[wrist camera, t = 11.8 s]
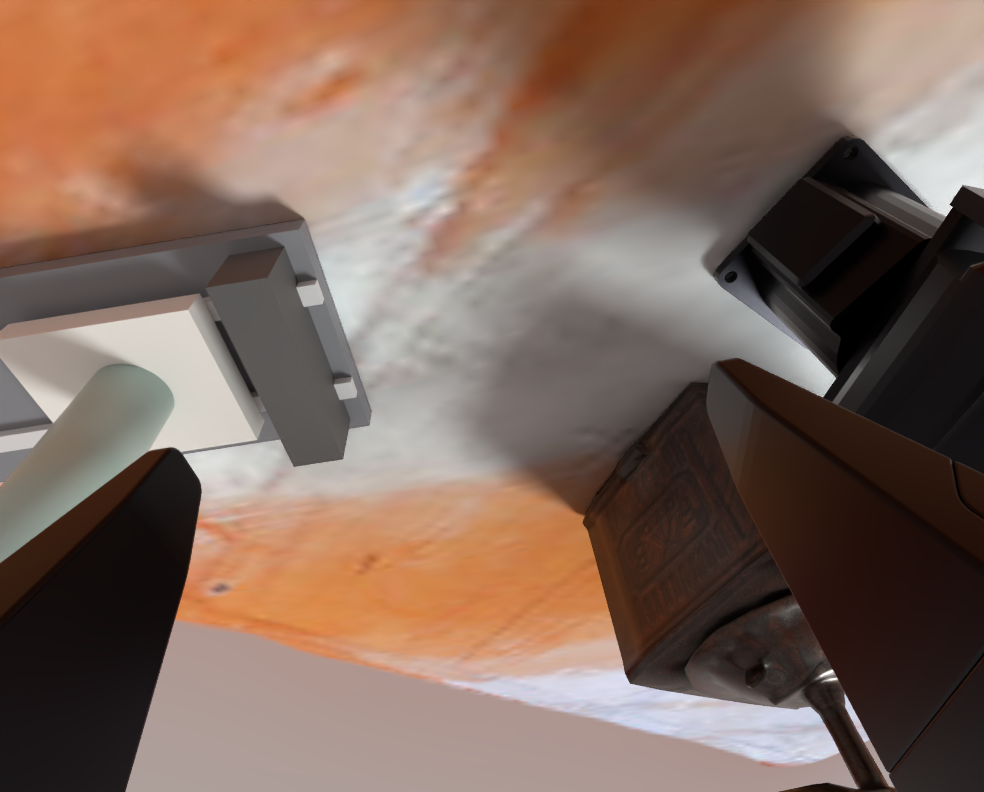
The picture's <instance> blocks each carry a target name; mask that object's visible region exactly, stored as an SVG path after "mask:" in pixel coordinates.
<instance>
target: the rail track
mask: <svg viewBox="0 0 984 792" xmlns="http://www.w3.org/2000/svg"><path fill="white" fill-rule="evenodd" d="M199 293H200V295H201V297H202V298H203V300H204V302H205V304H206V306H207V308H208V310H209V312H210V314H211V316H212V318H213V320H214V322H215V324H216V326H217V328H218V330H219V332H220V334H221V336H222V338H223V340H224V342H225V344H226V346H227V348H228V350H229V352H230V354H231V356H232V358H233V360H234V362H235V364H236V366H237V368H238V370H239V372H240V374H241V376H242V378H243V379H244V381H245V383H246V385H247V387H248V389H249V391H250V393H251V395H252V397H253V399H254V401H255V403H256V405H257V407H258V409H259V411H260V413H261V415H262V417H263V419H264V424H263V426H262V429H261V431H260V434H259V437H258V439H257V440H255V441H248V442H242V443H235V444H229V445H222V446H216V447H209V448H203V449H196V450H190V451H183V452H181V453H182V454H188V453H194V452H201V451H207V450H214V449H220V448H227V447H233V446H240V445H246V444H253V443H259V442H266V441H272V440H279V439H280V440H281V442H282V444H283V446H284V448H285V450H286V452H287V454H288V456H289V458H290V460H291V462H292V464H293V466H294V467H295V466H302V465H308V464H315V463H321V462H328V461H335V460H341V459H343V456H344V451H345V446H346V441H347V435H348V430H349V429H350V428H356V427H363V426H369V425H370V418H371V412H372V411H371V408H370V405H369V402H368V400H367V397H366V394H365V391H364V388H363V385H362V382H361V379H360V376H359V374H358V371H357V368H356V365H355V362H354V359H353V356H352V353H351V351H350V348H349V345H348V342H347V339H346V336H345V333H344V330H343V328H342V325H341V322H340V319H339V316H338V313H337V310H336V307H335V305H334V302H333V299H332V296H331V293H330V290H329V287H328V284H327V281H326V279H325V276H324V273H323V270H322V267H321V264H320V261H319V258H318V256H317V253H316V250H315V247H314V244H313V241H312V238H311V235H310V233H309V230H308V227H307V224H306V221H305V219H301V220H295V221H289V222H283V223H277V224H270V225H264V226H258V227H252V228H246V229H240V230H234V231H227V232H221V233H215V234H209V235H203V236H197V237H191V238H185V239H178V240H172V241H166V242H160V243H154V244H148V245H142V246H136V247H129V248H123V249H117V250H111V251H105V252H99V253H93V254H86V255H80V256H74V257H68V258H62V259H56V260H50V261H44V262H37V263H31V264H25V265H19V266H13V267H7V268H1V269H0V331H1V330H2V329H3V328H4V327H6V326H7V325H8V324H12V323H19V322H25V321H31V320H37V319H44V318H50V317H56V316H62V315H68V314H75V313H81V312H87V311H93V310H99V309H106V308H112V307H118V306H124V305H131V304H137V303H143V302H149V301H155V300H162V299H168V298H174V297H180V296H187V295H193V294H199ZM52 424H53V422H52V421H51V420H50V419H49V417H48V416H47V415H46V414H45V412H44V411H43V410H42V409H41V408H40V406H39V405H38V404H37V403H36V401H35V400H34V399H33V398H32V397H31V395H30V394H29V393H28V392H27V390H26V389H25V388H24V387H23V385H22V384H21V383H20V382H19V381H18V379H17V378H16V377H15V376H14V374H13V373H12V372H11V371H10V369H9V368H8V367H7V366H6V365H5V363H4V362H3V361H2V360H1V358H0V482H5V480H6V479H7V478H8V477H9V476H10V475H11V473H12V472H13V471H14V470H15V469H16V467H17V466H18V465H19V464H20V463H21V461H22V460H23V459H24V458H25V457H26V455H27V454H28V453H29V452H30V451H31V449H32V448H33V447H34V446H35V445H36V444H37V442H38V441H39V440H40V439H41V438H42V436H43V435H44V434H45V433H46V432H47V430H48V429H49V428H50V427H51V426H52Z"/></svg>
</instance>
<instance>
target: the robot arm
mask: <svg viewBox="0 0 984 792" xmlns="http://www.w3.org/2000/svg"><path fill="white" fill-rule="evenodd" d="M851 146H852V151H851V153H850V154H849V155H848V156H847V157H845V158H844V153H845V151H846V150H847V149H848V148H849V147H851ZM950 205H951V206H952V207H953V208H952V209H951V211H950V212H949V214H948V215H947V216H946V217H945V216H943V215H941V214H939V213H937V212H935V211H933V210H931V209H929V208H928V207H927V206H926V205H925V204H924V203H923V202H922V201H921V200H920V199H919V198H918V196H917V195H916V194H915V193H914V192H913V191H912V190H911V189H910V188H909V187H908V186H907V185H906V184H905V183H904V182H903V181H902V180H901V179H900V178H899V177H898V176H897V175H896V174H895V173H894V172H893V171H892V170H891V169H890V167H889V166H888V165H887V164H886V163H885V162H884V161H883V160H882V159H881V158H880V157H879V156H878V155H877V154H876V153H875V152H874V151H873V150H872V149H871V148H870V147H869V146H868V145H867V144H866V143H865V142H864V141H863V140H861V139H860V138H857V137H855V136H846V137H843V138H841V139H840V140H839V141H838V142H836V143H835V144H834V145H833V147H832V148H831V149H830V150H829V151H828V152H827V153H826V154H825V155H824V156H823V157H822V158H821V159H820V160H819V161H818V162H817V163H816V164H815V165H814V167H813V168H812V169H811V170H810V171H809V172H808V173H807V174H806V175H805V176H804V177H803V178H802V179H800V180H799V181H798V182H797V183H796V184H795V185H794V186H793V187H792V188H791V189H790V190H789V191H788V192H787V193H786V194H785V195H784V196H783V197H782V198H781V200H780V201H779V202H778V203H777V204H776V205H775V206H774V207H773V208H772V209H771V210H770V211H769V212H768V213H767V214H766V215H765V216H764V217H763V219H762V220H761V221H760V222H759V223H758V224H757V225H756V226H755V227H754V228H753V229H752V230H751V231H750V232H749V235H748V236H747V237H746V238H745V239H744V240H743V241H742V242H741V243H740V245H739V246H738V247H737V248H736V249H735V250H734V251H733V252H732V253H731V254H730V255H729V256H728V257H727V258H726V259H725V260H724V261H723V262H722V263H721V265H720V266H719V267H718V268H717V270H716V271H715V275H714V276H715V280H716V281H717V282H718V284H719V285H720V286H721V287H722V288H724V289H725V290H726V291H728V292H729V293H730V294H732V295H733V296H735V297H736V298H737V299H739V300H740V301H741V302H743V303H744V304H746V305H747V306H748V307H750V308H751V309H752V310H754V311H755V312H757V313H758V314H759V315H761V316H762V317H763V318H765V319H766V320H768V321H769V322H770V323H772V324H773V325H774V326H776V327H777V328H779V329H780V330H781V331H783V332H784V333H785V334H787V335H788V336H789V337H791V338H792V339H794V340H795V341H796V342H798V343H799V344H800V345H802V346H803V347H805V348H806V349H809V350H810V351H811V352H812V353H813V354H814V355H815V356H816V357H817V358H818V360H819V361H820V362H821V363H822V364H823V365H824V366H825V367H826V368H827V369H828V370H829V371H830V372H831V373H832V374H833V375H834V376H835V377H836V380H835V381H834V383H833V384H832V385H831V387H830V388H829V390H828V391H827V393H826V394H825V396H824V397H823V398H822V397H820V396H818V395H816V394H814V393H812V392H810V391H808V390H805V389H803V388H801V387H799V386H797V385H795V384H793V383H791V382H789V381H787V380H784V379H782V378H780V377H778V376H776V375H774V374H772V373H770V372H768V371H765V370H763V369H761V368H759V367H757V366H755V365H753V364H751V363H749V362H747V361H744V360H742V359H740V358H733V359H727V360H720V361H716V362H714V363H713V364H712V366H711V369H710V377H709V385H708V393H707V411H708V415H709V417H710V420H711V423H712V425H713V428H714V430H715V433H716V436H717V438H718V441H719V443H720V446H721V449H722V451H723V454H724V457H725V459H726V462H727V464H728V467H729V470H730V472H731V475H732V477H733V480H734V482H735V485H736V487H737V490H738V492H739V494H740V496H741V498H742V500H743V502H744V504H745V506H746V508H747V509H748V511H749V513H750V515H751V517H752V519H753V521H754V523H755V524H756V526H757V528H758V530H759V532H760V534H761V536H762V538H763V540H764V541H765V543H766V545H767V547H768V549H769V551H770V553H771V555H772V556H773V558H774V560H775V562H776V564H777V566H778V568H779V570H780V572H781V573H782V575H783V577H784V579H785V581H786V583H787V585H788V587H789V588H790V590H791V592H792V594H793V596H794V598H795V600H796V602H797V604H798V605H799V607H800V609H801V611H802V613H803V615H804V617H805V619H806V620H807V622H808V624H809V626H810V628H811V630H812V632H813V634H814V636H815V637H816V639H817V641H818V643H819V645H820V647H821V649H822V651H823V652H824V654H825V656H826V658H827V660H828V662H829V664H830V666H831V668H832V669H833V671H834V673H835V675H836V677H837V679H838V681H839V683H840V684H841V686H842V688H843V690H844V692H845V694H846V696H847V698H848V700H849V701H850V703H851V705H852V707H853V709H854V711H855V713H856V715H857V716H858V718H859V720H860V722H861V724H862V726H863V728H864V730H865V732H866V733H867V735H868V737H869V739H870V741H871V743H872V745H873V746H874V748H875V750H876V752H877V754H878V756H879V758H880V760H881V761H882V763H883V765H884V767H885V769H886V770H887V772H889V773H890V774H889V777H890V779H891V781H892V783H893V785H894V787H895V789H896V791H897V792H984V189H980V188H975V187H970V186H965V185H962V187H961V188H960V190H959V191H958V193H957V194H956V196H955V197H954V199H953V200H952V202H951V203H950ZM731 271H733V274H732V276H730V277H729V278H726V279H725V276H726V274H727V273H729V272H731ZM201 493H202V489H201V484H200V481H199V479H198V477H197V476H196V474H195V473H194V471H193V470H192V468H191V466H190V465H189V463H188V462H187V460H186V459H185V457H184V456H183V454H182V453H181V452H180V451H179V450H178V449H177V448H174V447H168V448H161V449H155V450H151V451H148V452H146V453H145V454H144V455H142V456H141V457H140V458H138V459H137V460H136V461H134V462H133V463H132V464H130V465H129V466H128V467H126V468H125V469H124V470H123V471H121V472H120V473H119V474H117V475H116V476H115V477H113V478H112V479H111V480H109V481H108V482H107V483H105V484H104V485H103V486H101V487H100V488H99V489H97V490H96V491H95V492H93V493H92V494H91V495H89V496H88V497H87V498H85V499H84V500H83V501H81V502H80V503H79V504H77V505H76V506H75V507H74V508H72V509H71V510H70V511H68V512H67V513H66V514H64V515H63V516H62V517H60V518H59V519H58V520H56V521H55V522H54V523H52V524H51V525H50V526H48V527H47V528H46V529H44V530H43V531H42V532H40V533H39V534H38V535H36V536H35V537H34V538H32V539H31V540H30V541H29V542H27V543H26V544H25V545H23V546H22V547H21V548H19V549H18V550H17V551H15V552H14V553H13V554H11V555H10V556H9V557H7V558H6V559H5V560H3V561H2V562H1V563H0V792H125V791H126V788H127V784H128V780H129V777H130V774H131V770H132V767H133V763H134V760H135V756H136V752H137V749H138V746H139V742H140V739H141V735H142V732H143V728H144V725H145V722H146V718H147V715H148V711H149V708H150V704H151V701H152V697H153V694H154V690H155V687H156V683H157V680H158V676H159V673H160V669H161V666H162V663H163V658H164V655H165V652H166V649H167V645H168V642H169V638H170V634H171V631H172V628H173V624H174V621H175V617H176V614H177V610H178V607H179V604H180V600H181V597H182V593H183V590H184V586H185V582H186V578H187V574H188V569H189V565H190V560H191V554H192V548H193V542H194V536H195V530H196V524H197V518H198V512H199V506H200V500H201Z"/></svg>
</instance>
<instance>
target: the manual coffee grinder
mask: <svg viewBox="0 0 984 792" xmlns="http://www.w3.org/2000/svg"><path fill="white" fill-rule="evenodd" d="M708 385H709V384H705V383H691V384H690V385H689V386H688V387H687V388H686V390H685V391H684V392H683V393H682V394H681V395H680V396H679V397H678V398H677V399H676V400H675V402H674V403H673V404H672V405H671V406H670V407H669V408H668V409H667V410H666V411H665V412H664V414H663V415H662V416H661V417H660V418H659V419H658V420H657V421H656V422H655V423H654V424H653V425H652V426H651V427H650V428H649V429H648V431H647V432H646V433H645V434H644V435H643V436H642V437H641V438H640V439H639V440H638V441H637V442H636V443H635V444H634V445H633V446H632V447H631V448H630V449H629V451H628V452H627V453H626V454H625V456H624V457H623V458H622V459H621V461H620V462H619V463H618V465H617V467H616V469H615V471H614V473H613V474H612V475H611V477H610V478H609V479H608V481H607V482H606V483H605V484H604V486H603V487H602V488H601V490H600V491H599V492H598V494H597V495H596V497H595V498H594V500H593V502H592V504H591V506H590V508H589V510H588V512H587V514H586V515H585V517H584V519H583V524H584V526H585V527H586V529H587V530H588V533H589V537H590V540H591V544H592V548H593V551H594V555H595V559H596V562H597V566H598V570H599V574H600V578H601V582H602V585H603V589H604V593H605V597H606V600H607V604H608V608H609V612H610V615H611V619H612V623H613V626H614V630H615V634H616V638H617V641H618V645H619V649H620V652H621V656H622V660H623V665H624V671H625V674H626V676H627V678H628V680H629V682H630V684H635V685H640V686H645V687H649V688H654V689H659V690H665V691H671V692H677V693H683V694H690V695H696V696H702V697H708V698H715V699H721V700H728V701H734V702H741V703H747V704H754V705H763V706H771V707H780V708H789V709H799V708H802V707H812V708H813V709H814V710H815V711H816V712H817V713H818V714H819V715H820V717H821V718H822V720H823V722H824V724H825V725H826V727H827V729H828V730H829V732H830V734H831V736H832V738H833V740H834V742H835V744H836V746H837V748H838V750H839V752H840V754H841V755H842V757H843V760H844V762H845V763H846V765H847V767H848V769H849V771H850V773H851V775H852V777H853V779H854V781H855V783H856V785H857V787H858V789H853V788H848V787H844V786H840V785H835V784H831V783H822V784H814V785H809V786H804V787H799V788H795V789H790V790H785V791H780V792H897V791H896V789H895V788H893V787H890V786H888V784H887V782H886V780H885V779H884V777H883V775H882V773H881V772H880V770H879V768H878V766H877V765H876V763H875V761H874V759H873V757H872V756H871V754H870V752H869V750H868V749H867V747H866V745H865V743H864V742H863V740H862V738H861V736H860V734H859V733H858V731H857V729H856V727H855V725H854V723H853V722H852V720H851V718H850V716H849V714H848V712H847V710H846V708H845V698H844V694H845V692H844V690H843V688H842V686H841V684H840V683H839V681H838V679H837V677H836V675H835V673H834V671H833V669H832V668H831V666H830V664H829V662H828V660H827V658H826V656H825V654H824V652H823V651H822V649H821V647H820V645H819V643H818V641H817V639H816V637H815V636H814V634H813V632H812V630H811V628H810V626H809V624H808V622H807V620H806V619H805V617H804V615H803V613H802V611H801V609H800V607H799V605H798V604H797V602H796V600H795V598H794V596H793V594H792V592H791V590H790V588H789V587H788V585H787V583H786V581H785V579H784V577H783V575H782V573H781V572H780V570H779V568H778V566H777V564H776V562H775V560H774V558H773V556H772V555H771V553H770V551H769V549H768V547H767V545H766V543H765V541H764V540H763V538H762V536H761V534H760V532H759V530H758V528H757V526H756V524H755V523H754V521H753V519H752V517H751V515H750V513H749V511H748V509H747V508H746V506H745V504H744V502H743V500H742V498H741V496H740V494H739V492H738V490H737V487H736V485H735V482H734V480H733V477H732V475H731V472H730V470H729V467H728V464H727V462H726V459H725V457H724V454H723V451H722V449H721V446H720V443H719V441H718V438H717V436H716V433H715V430H714V428H713V425H712V423H711V420H710V417H709V415H708V411H707V393H708Z"/></svg>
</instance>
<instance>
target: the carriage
mask: <svg viewBox="0 0 984 792" xmlns="http://www.w3.org/2000/svg"><path fill="white" fill-rule="evenodd" d="M0 358H1V360H2V361H3V362H4V363H5V365H6V366H7V367H8V368H9V369H10V371H11V372H12V373H13V374H14V376H15V377H16V378H17V379H18V381H19V382H20V383H21V384H22V385H23V387H24V388H25V389H26V390H27V392H28V393H29V394H30V395H31V397H32V398H33V399H34V400H35V401H36V403H37V404H38V405H39V406H40V408H41V409H42V410H43V411H44V412H45V414H46V415H47V416H48V417H49V419H50V420H51V421H52V422H53V424H52V426H51V427H50V428H49V429H48V430H47V432H46V433H45V434H44V435H43V436H42V438H41V439H40V440H39V441H38V442H37V444H36V445H35V446H34V447H33V448H32V449H31V451H30V452H29V453H28V454H27V455H26V457H25V458H24V459H23V460H22V461H21V463H20V464H19V465H18V466H17V467H16V469H15V470H14V471H13V472H12V473H11V475H10V476H9V477H8V478H7V479H6V480H5V482H4V483H3V484H2V485H1V486H0V563H1V562H2V561H3V560H5V559H6V558H7V557H9V556H10V555H11V554H13V553H14V552H15V551H17V550H18V549H19V548H21V547H22V546H23V545H25V544H26V543H27V542H29V541H30V540H31V539H32V538H34V537H35V536H36V535H38V534H39V533H40V532H42V531H43V530H44V529H46V528H47V527H48V526H50V525H51V524H52V523H54V522H55V521H56V520H58V519H59V518H60V517H62V516H63V515H64V514H66V513H67V512H68V511H70V510H71V509H72V508H74V507H75V506H76V505H77V504H79V503H80V502H81V501H83V500H84V499H85V498H87V497H88V496H89V495H91V494H92V493H93V492H95V491H96V490H97V489H99V488H100V487H101V486H103V485H104V484H105V483H107V482H108V481H109V480H111V479H112V478H113V477H115V476H116V475H117V474H119V473H120V472H121V471H123V470H124V469H125V468H126V467H128V466H129V465H130V464H132V463H133V462H134V461H136V460H137V459H138V458H140V457H141V456H142V455H144V454H145V453H146V452H148V451H151V450H155V449H161V448H168V447H174V448H177V449H178V450H179V451H180V452H183V451H190V450H196V449H203V448H209V447H216V446H222V445H229V444H235V443H242V442H248V441H255V440H257V439H258V437H259V434H260V431H261V429H262V426H263V424H264V419H263V417H262V415H261V413H260V411H259V409H258V407H257V405H256V403H255V401H254V399H253V397H252V395H251V393H250V391H249V389H248V387H247V385H246V383H245V381H244V379H243V378H242V376H241V374H240V372H239V370H238V368H237V366H236V364H235V362H234V360H233V358H232V356H231V354H230V352H229V350H228V348H227V346H226V344H225V342H224V340H223V338H222V336H221V334H220V332H219V330H218V328H217V326H216V324H215V322H214V320H213V318H212V316H211V314H210V312H209V310H208V308H207V306H206V304H205V302H204V300H203V298H202V297H201V295H200V293H199V294H193V295H187V296H180V297H174V298H168V299H162V300H155V301H149V302H143V303H137V304H131V305H124V306H118V307H112V308H106V309H99V310H93V311H87V312H81V313H75V314H68V315H62V316H56V317H50V318H44V319H37V320H31V321H25V322H19V323H12V324H8V325H7V326H6V327H4V328H3V329H2V330H1V331H0Z"/></svg>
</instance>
